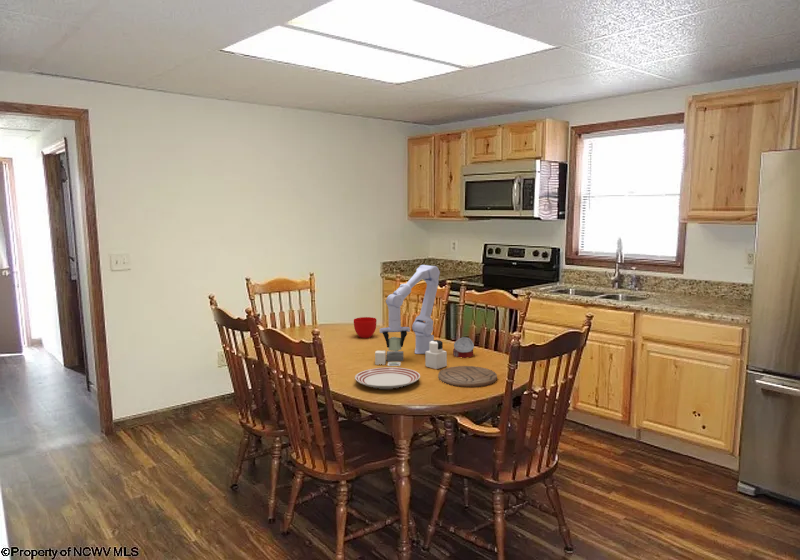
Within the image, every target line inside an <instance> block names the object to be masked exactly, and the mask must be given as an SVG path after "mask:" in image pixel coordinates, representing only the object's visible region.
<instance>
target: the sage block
mask: <svg viewBox="0 0 800 560" xmlns="http://www.w3.org/2000/svg"><path fill="white" fill-rule="evenodd" d="M387 349H388V351H402V347H401V337H397V336H392V337H389V348H387Z"/></svg>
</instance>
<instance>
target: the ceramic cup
mask: <svg viewBox="0 0 800 560" xmlns="http://www.w3.org/2000/svg"><path fill="white" fill-rule="evenodd" d="M353 328H354V332H355V333H356V335H357V336H358V337H359V338H361V339H368V338H369V337H370V338H372V336H373V335H374V334H375V332H376V329H377V318H376V317H370V316H369V317H368V316H360V317H357V318H356V317H355V318H354V319H353Z"/></svg>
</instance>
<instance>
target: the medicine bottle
mask: <svg viewBox="0 0 800 560" xmlns="http://www.w3.org/2000/svg"><path fill="white" fill-rule="evenodd" d="M443 347H444V345H443V341H442V340H439V339H434V340H432V341H430V342H429V351H426V352H425V354H424V355H425V356H424V357H425V360H424V361H425V367H426V368H431V369H434V370H438V369H442V368H445V367H446V368H447V366H448V364H447V363H448V362H447V355H448V353H447V351H446V350H444V348H443Z"/></svg>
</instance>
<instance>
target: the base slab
mask: <svg viewBox="0 0 800 560" xmlns="http://www.w3.org/2000/svg"><path fill="white" fill-rule="evenodd" d="M386 361H387V362H404V351H403V350H399V351H390V350H388V351H386Z"/></svg>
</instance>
